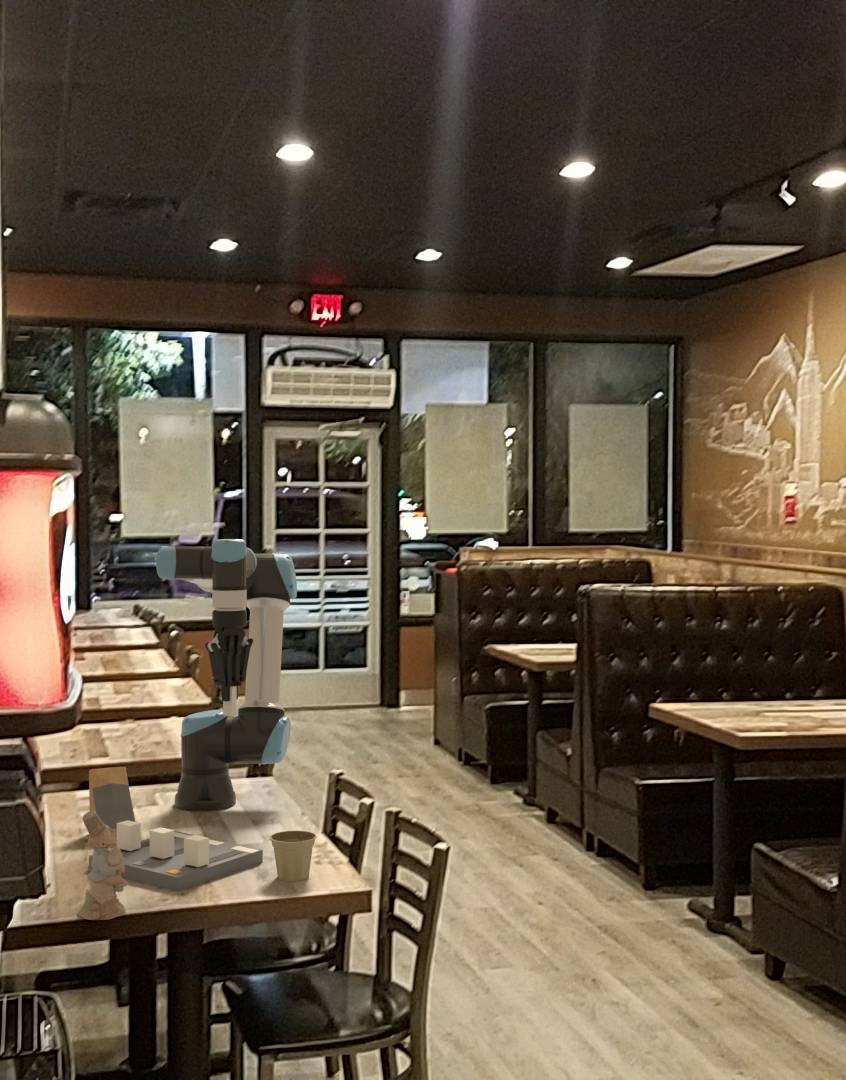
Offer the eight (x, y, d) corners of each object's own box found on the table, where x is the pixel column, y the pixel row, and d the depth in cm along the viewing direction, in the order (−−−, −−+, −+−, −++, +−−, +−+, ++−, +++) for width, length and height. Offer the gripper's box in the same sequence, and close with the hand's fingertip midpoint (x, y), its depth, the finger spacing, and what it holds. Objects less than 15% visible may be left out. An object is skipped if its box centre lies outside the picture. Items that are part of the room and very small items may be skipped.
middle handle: (160, 852, 260) (160, 827, 260) (174, 855, 258) (174, 830, 258) (149, 855, 258) (149, 830, 258) (163, 858, 256) (163, 833, 255)
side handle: (127, 844, 266) (127, 820, 266) (140, 847, 264) (140, 823, 264) (116, 848, 264) (116, 823, 264) (129, 851, 261) (129, 826, 261)
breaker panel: (175, 844, 279) (175, 830, 279) (262, 863, 264) (262, 848, 263) (88, 870, 259) (88, 854, 259) (177, 892, 244) (177, 876, 244)
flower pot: (270, 872, 258) (270, 830, 257) (317, 871, 258) (317, 829, 258) (268, 886, 248) (268, 842, 248) (316, 885, 249) (316, 841, 249)
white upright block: (194, 860, 255) (194, 834, 254) (209, 863, 252) (209, 837, 252) (184, 863, 252) (183, 838, 252) (198, 867, 250) (198, 841, 250)
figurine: (78, 925, 225) (77, 814, 225) (77, 911, 233) (76, 803, 233) (129, 920, 228) (128, 810, 227) (126, 906, 236) (125, 800, 235)
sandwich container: (102, 851, 274) (101, 782, 273) (88, 834, 288) (88, 769, 287) (141, 846, 278) (141, 779, 277) (126, 830, 291) (126, 765, 291)
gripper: (237, 606, 286) (238, 709, 287) (195, 610, 275) (196, 717, 276) (262, 607, 282) (262, 713, 282) (220, 612, 271) (221, 721, 272)
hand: (229, 715), depth 279 cm, fingers closed
